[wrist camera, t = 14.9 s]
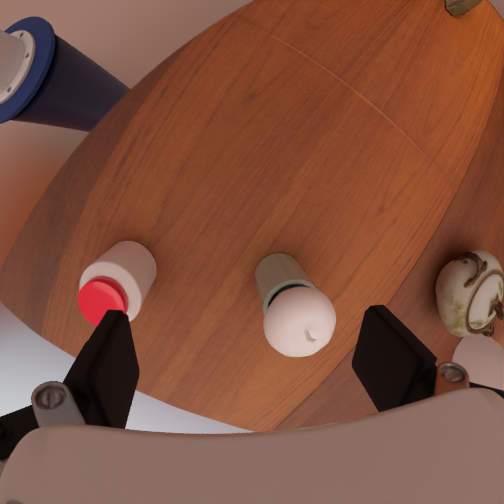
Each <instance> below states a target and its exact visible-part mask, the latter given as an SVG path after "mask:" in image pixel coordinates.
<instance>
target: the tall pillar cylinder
mask: <svg viewBox="0 0 504 504" xmlns="http://www.w3.org/2000/svg"><path fill="white" fill-rule="evenodd" d="M452 362H454V363H457V364H459V365H461V366H462V367H463V368H465V369H466V371H467V372H468V375H469V382H473V383H476V384H480V385H484V386H488V387H492V388H496V389H500V390H503V391H504V348H503V347H502V346H501V345H500V344H499V343H497V342H496V341H495V340H494V339H493V338H491V337H486V336H484V335H483V334H482V333H481V334H473V335H471V336H467V337H463V339H462V340H461V341H460V343H459V344H458V346H457V347H456V349H455V351H454V354H453V357H452Z"/></svg>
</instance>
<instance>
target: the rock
mask: <svg viewBox="0 0 504 504" xmlns="http://www.w3.org/2000/svg"><path fill="white" fill-rule="evenodd" d="M445 1H446V8H447V10H448V11H449V12H450V13H451V14H452V15H453V16H459V15H463V14H464V13H466V12H467V11H470V10H471V9H473V8H474V7H476V6H477V5H478V4H479V3H480V2H481V1H482V0H445Z"/></svg>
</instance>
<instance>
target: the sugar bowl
mask: <svg viewBox="0 0 504 504" xmlns="http://www.w3.org/2000/svg"><path fill="white" fill-rule="evenodd" d="M435 291H436V297H437V305H438V311H439V315H440V319H441V321H442V323H443V325H444V327H445V328H446V329H447V330H448V331H449V332H450V333H452V334H453V335H455V336H459V337H467V336H471V335H473V334H481V333H482V334H483V335H484V336H486V337H491V336H492V335H493V333H494V319H495V316H496V314H497V316H498V318H499V319H500V320H503V319H504V306H503V305H502V302H503V299H504V274H503V270H502V267H501V265H500V263H499V262H498V260H497V259H496V258H495V257H494V256H493V255H492V254H490V253H488V252H486V251H473V252H466V253H464V254H462V255H461V256H459V257H457V258H456V259H454V260H453V261H451V262H449V263H448V264H446V265H445V267H444V268H443V269H442V270H441V272H440V274H439V276H438V278H437V282H436V289H435ZM489 324H490V329H489V328H486V327H487V326H488V325H489Z"/></svg>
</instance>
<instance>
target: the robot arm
mask: <svg viewBox="0 0 504 504" xmlns="http://www.w3.org/2000/svg"><path fill="white" fill-rule="evenodd" d="M35 48H36V45H35V39H34V37H33V36H32V34H30V33H29V32H27V31H24V30H19V31H16V32H13V33H11V34H8V33H6V32H3V31H1V30H0V104H2V103H4V102H5V101H7V100H8V99H9V98H10V97H11V96H13V94H14V93H15V92H16V91H17V90H18V88H19V87H20V86H21V84H22V83H23V81H24V80H25V78H26V76H27V74H28V72H29V70H30V68H31V65H32V62H33V59H34V55H35ZM436 361H437V358H436V357H435V356H434V355H433V353H432V352H431V351H430V350H429V349H428V348H427V347H426V346H425V345H424V344H423V343H422V342H421V341H420V340H419V339H418V338H417V337H416V336H415V335H414V334H413V333H412V332H411V331H410V330H409V329H408V328H407V327H406V326H405V325H404V324H403V323H402V322H401V321H400V320H399V319H398V318H397V317H396V316H395V315H394V314H392V313H391V312H390V311H389V310H388V309H387V308H386V307H385V306H384V305H374V306H370V307H369V308H368V309H367V310H366V311H365V313H364V317H363V322H362V326H361V330H360V334H359V337H358V341H357V345H356V348H355V352H354V356H353V359H352V368H353V370H354V371H355V373H356V375H357V376H358V378H359V380H360V381H361V383H362V385H363V386H364V388H365V390H366V391H367V393H368V394H369V396H370V398H371V399H372V401H373V403H374V405H375V406H376V408H377V410H378V411H379V412H378V413H375V414H370V415H366V416H362V417H358V418H353V419H348V420H343V421H338V422H333V423H328V424H322V425H316V426H309V427H302V428H295V429H286V430H277V431H266V432H252V433H235V434H184V433H165V432H149V431H139V430H129V429H125V426H126V422H127V418H128V415H129V411H130V407H131V404H132V400H133V396H134V392H135V389H136V386H137V382H138V379H139V366H138V361H137V357H136V353H135V348H134V343H133V338H132V333H131V328H130V323H129V317H128V315H127V314H124V312H123V311H122V310H111V309H108V310H107V311H106V313H105V315H104V316H103V318H102V319H101V321H100V322H99V324H98V326H97V327H96V329H95V330H94V332H93V334H92V335H91V337H90V339H89V340H88V341H87V342H86V343H85V345H84V346H83V348H82V350H81V351H80V353H79V355H78V356H77V358H76V360H75V362H74V363H73V365H72V367H71V368H70V370H69V372H68V374H67V376H66V377H65V379H64V381H63V383H61V382H58V381H49V382H45V383H43V384H41V385H39V386H38V387H37V388H36V389H35V390H34V391H33V393H32V396H31V402H32V405H30V406H28V407H25V408H22V409H20V410H17V411H15V412H12V413H9V414H7V415H4V416H1V417H0V504H504V391H503V390H500V389H496V388H492V387H488V386H484V385H480V384H476V383H473V382H469V375H468V372H467V371H466V369H465V368H463V367H462V366H461V365H459V364H457V363H454V362H443V363H440V364H439V365H438V367H436V365H435V363H436Z"/></svg>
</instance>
